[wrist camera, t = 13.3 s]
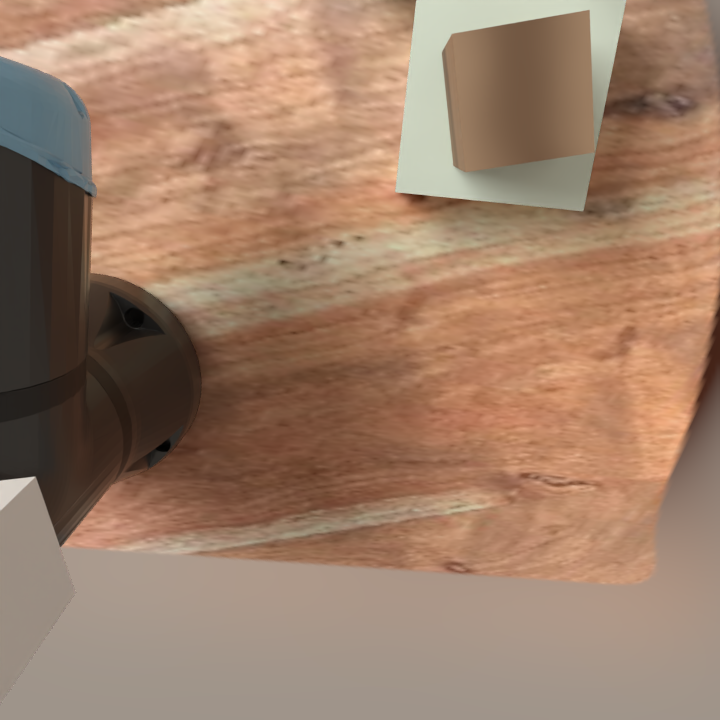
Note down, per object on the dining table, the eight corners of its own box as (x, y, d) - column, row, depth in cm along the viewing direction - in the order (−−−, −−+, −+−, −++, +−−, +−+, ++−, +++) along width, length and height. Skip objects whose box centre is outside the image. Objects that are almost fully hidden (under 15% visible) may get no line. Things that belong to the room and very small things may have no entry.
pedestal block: (395, 186, 43) (395, 192, 38) (416, -2, 39) (418, -21, 35) (563, 203, 43) (583, 211, 38) (599, 16, 39) (626, -1, 34)
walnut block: (453, 165, 38) (465, 172, 31) (441, 52, 36) (451, 33, 29) (559, 149, 37) (594, 152, 30) (553, 33, 35) (589, 9, 28)
